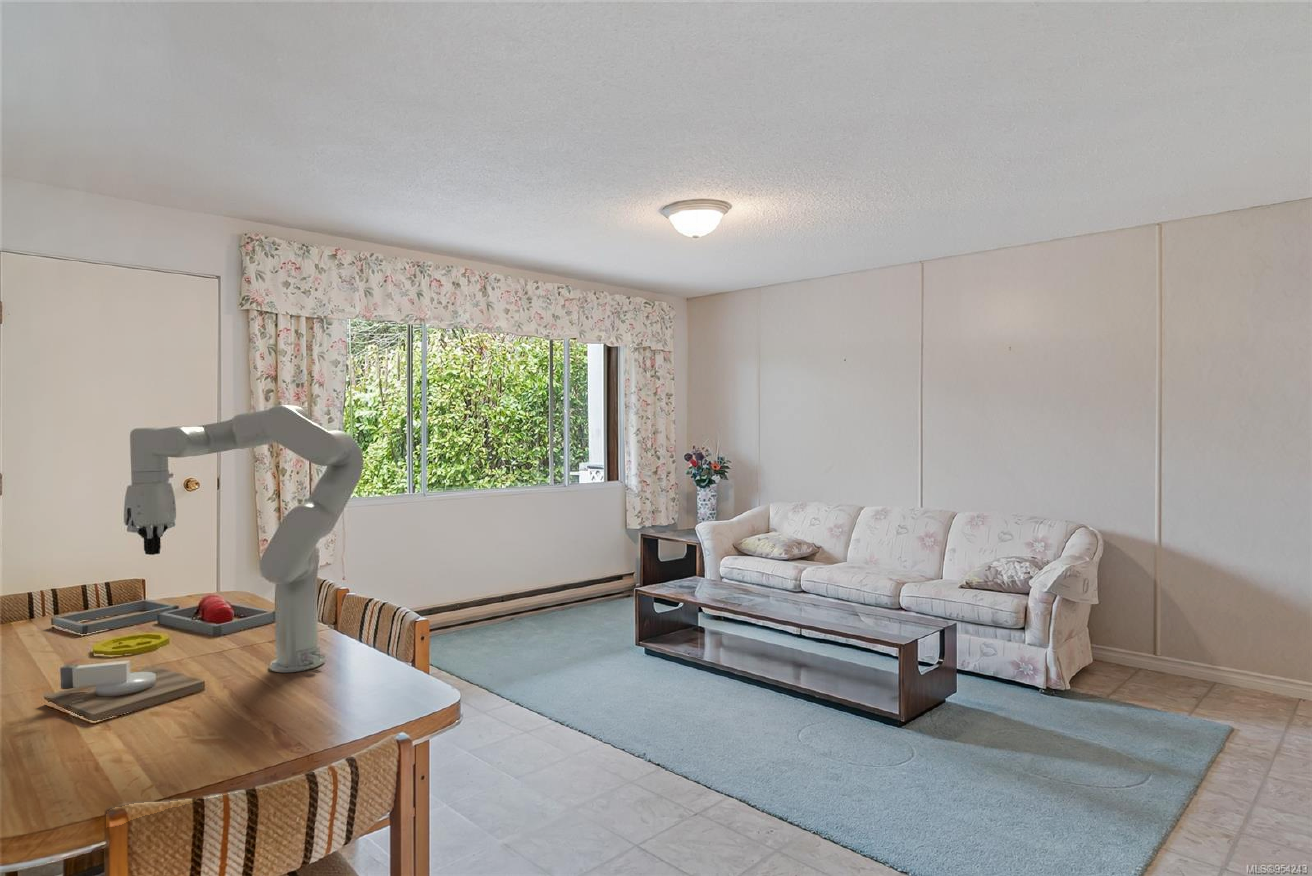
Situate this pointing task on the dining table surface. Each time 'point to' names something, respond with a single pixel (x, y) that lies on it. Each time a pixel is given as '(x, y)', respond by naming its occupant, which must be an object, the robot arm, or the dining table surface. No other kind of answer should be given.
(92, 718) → the dial plate
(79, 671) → the dial
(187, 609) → the tray
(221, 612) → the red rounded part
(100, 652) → the decorative disc
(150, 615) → the tray
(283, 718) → the dining table surface
